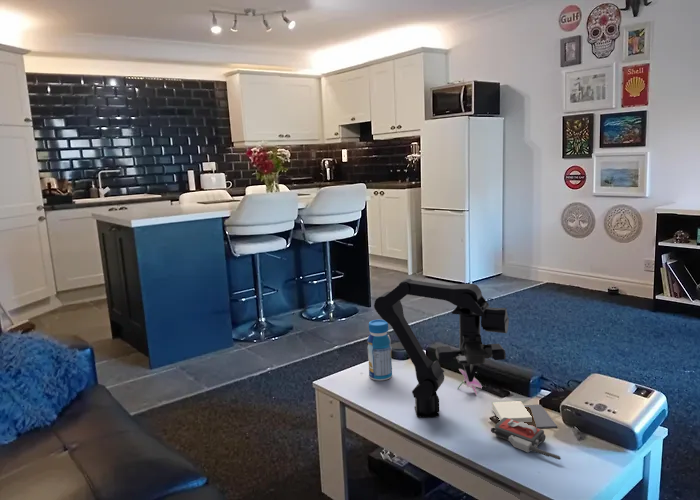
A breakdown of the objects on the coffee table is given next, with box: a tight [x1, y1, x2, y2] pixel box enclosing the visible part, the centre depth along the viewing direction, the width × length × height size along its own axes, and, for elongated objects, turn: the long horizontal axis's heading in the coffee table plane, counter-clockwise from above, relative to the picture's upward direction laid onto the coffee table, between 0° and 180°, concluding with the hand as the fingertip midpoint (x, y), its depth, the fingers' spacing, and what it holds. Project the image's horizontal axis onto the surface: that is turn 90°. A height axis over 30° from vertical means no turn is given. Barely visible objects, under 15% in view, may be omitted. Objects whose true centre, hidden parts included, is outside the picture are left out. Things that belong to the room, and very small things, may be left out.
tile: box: [491, 400, 532, 422], centre depth 156 cm, size 2×10×8 cm
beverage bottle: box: [366, 319, 393, 382], centre depth 188 cm, size 8×8×20 cm
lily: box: [457, 368, 483, 396], centre depth 174 cm, size 11×11×9 cm
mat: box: [523, 404, 558, 429], centre depth 156 cm, size 14×13×1 cm
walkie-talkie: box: [490, 418, 562, 460], centre depth 141 cm, size 9×4×20 cm
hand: (470, 381), depth 154 cm, fingers closed
